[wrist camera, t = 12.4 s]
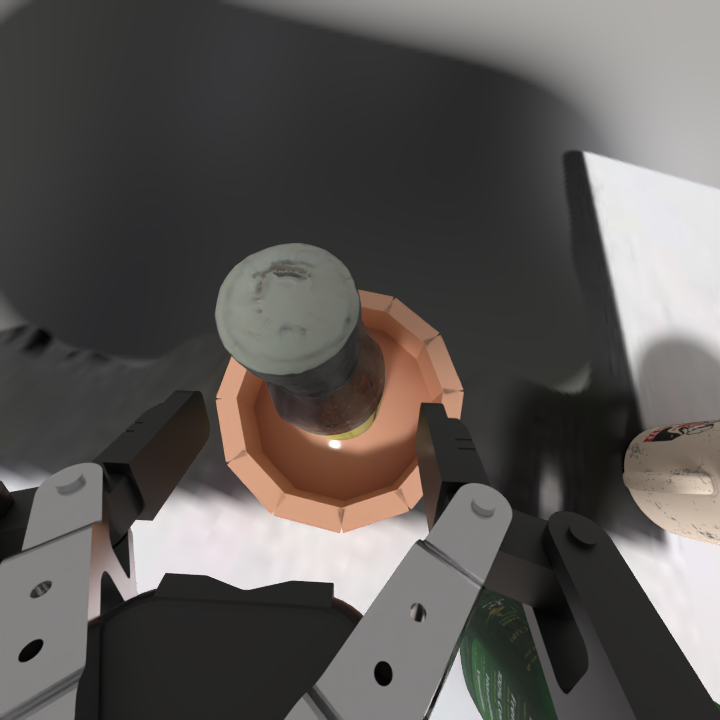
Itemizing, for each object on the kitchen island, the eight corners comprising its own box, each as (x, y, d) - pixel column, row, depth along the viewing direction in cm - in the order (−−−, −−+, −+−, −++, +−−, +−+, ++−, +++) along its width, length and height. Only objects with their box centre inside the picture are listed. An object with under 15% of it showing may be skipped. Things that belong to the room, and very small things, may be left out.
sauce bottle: (335, 357, 29) (282, 160, 10) (393, 396, 28) (456, 257, 9) (290, 417, 27) (125, 316, 8) (349, 460, 26) (312, 460, 7)
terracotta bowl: (213, 485, 27) (181, 491, 22) (278, 298, 32) (264, 270, 27) (425, 541, 25) (440, 560, 20) (457, 336, 30) (474, 313, 26)
